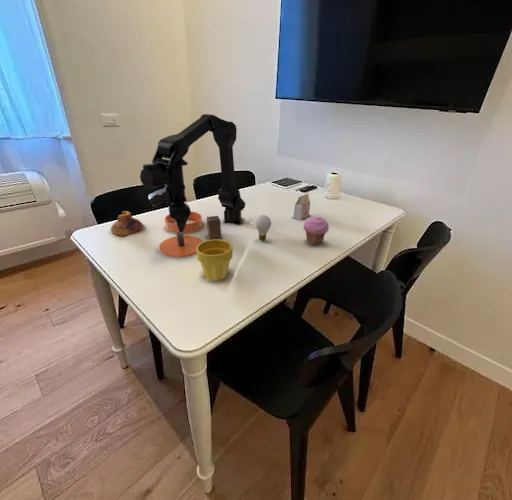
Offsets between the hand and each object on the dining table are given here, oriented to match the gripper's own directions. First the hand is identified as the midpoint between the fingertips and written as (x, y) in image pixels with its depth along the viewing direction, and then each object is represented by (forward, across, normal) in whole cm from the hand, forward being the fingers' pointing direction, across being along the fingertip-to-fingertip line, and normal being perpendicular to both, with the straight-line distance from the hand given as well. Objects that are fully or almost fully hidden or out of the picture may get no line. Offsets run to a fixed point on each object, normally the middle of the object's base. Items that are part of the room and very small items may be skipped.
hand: (179, 226), depth 103 cm
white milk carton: (+8, -14, +54) cm, 56 cm away
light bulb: (+8, +3, +29) cm, 31 cm away
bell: (+8, -21, -18) cm, 29 cm away
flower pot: (+8, +21, +8) cm, 24 cm away
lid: (+8, 0, 0) cm, 8 cm away
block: (+8, -4, +13) cm, 16 cm away
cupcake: (+8, +10, +47) cm, 49 cm away
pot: (+8, -18, +3) cm, 20 cm away
